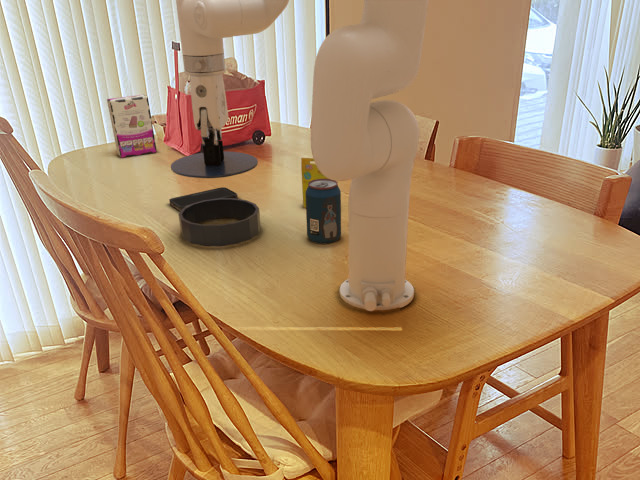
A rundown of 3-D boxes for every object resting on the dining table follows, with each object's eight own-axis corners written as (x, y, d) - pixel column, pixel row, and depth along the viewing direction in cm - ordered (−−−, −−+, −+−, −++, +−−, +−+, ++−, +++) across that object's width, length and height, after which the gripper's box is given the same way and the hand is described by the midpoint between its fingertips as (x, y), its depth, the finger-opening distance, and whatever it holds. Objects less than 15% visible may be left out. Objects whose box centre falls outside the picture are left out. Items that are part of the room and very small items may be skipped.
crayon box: (336, 206, 146) (336, 156, 140) (332, 210, 144) (332, 159, 138) (307, 203, 148) (305, 154, 142) (302, 207, 146) (300, 157, 140)
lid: (251, 181, 118) (249, 149, 115) (161, 181, 119) (156, 149, 116) (263, 155, 133) (261, 126, 130) (182, 156, 134) (179, 127, 131)
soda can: (319, 231, 133) (318, 175, 127) (347, 238, 129) (347, 181, 123) (300, 242, 128) (298, 185, 122) (328, 249, 124) (327, 190, 118)
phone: (239, 194, 151) (181, 207, 144) (239, 199, 152) (181, 212, 144) (224, 186, 157) (167, 198, 150) (224, 190, 157) (168, 203, 150)
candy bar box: (152, 149, 195) (144, 93, 187) (157, 152, 191) (148, 96, 183) (116, 154, 190) (106, 98, 182) (120, 158, 186) (109, 100, 178)
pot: (254, 248, 126) (252, 225, 123) (173, 248, 127) (170, 225, 124) (264, 219, 140) (263, 198, 137) (192, 219, 141) (189, 198, 138)
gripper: (216, 71, 109) (226, 175, 118) (232, 57, 123) (239, 152, 132) (173, 71, 109) (186, 175, 119) (194, 58, 123) (204, 152, 132)
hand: (214, 162), depth 125 cm, fingers closed on lid, 2 cm apart
